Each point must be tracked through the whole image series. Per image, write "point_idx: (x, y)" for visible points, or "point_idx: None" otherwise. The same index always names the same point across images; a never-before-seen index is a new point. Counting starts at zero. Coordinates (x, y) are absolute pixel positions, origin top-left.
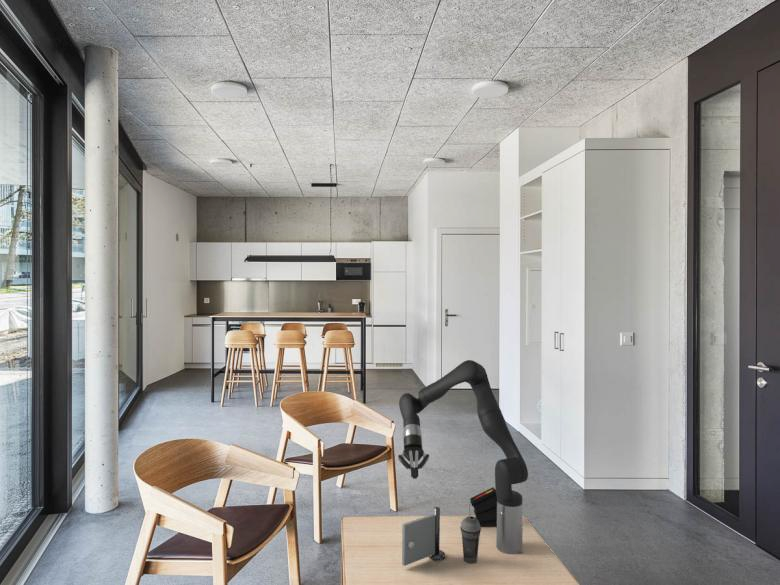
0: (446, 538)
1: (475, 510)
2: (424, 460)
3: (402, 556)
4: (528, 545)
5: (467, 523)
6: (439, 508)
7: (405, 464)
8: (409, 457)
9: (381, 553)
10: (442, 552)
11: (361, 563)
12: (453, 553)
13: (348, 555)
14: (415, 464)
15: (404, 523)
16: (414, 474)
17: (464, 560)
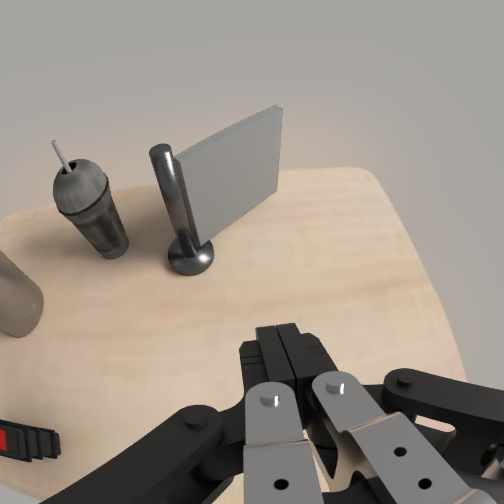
0: (152, 362)
1: (30, 431)
2: (118, 470)
3: (277, 176)
4: None
5: (88, 160)
6: (151, 149)
7: (433, 375)
8: (437, 482)
9: (340, 253)
10: (173, 258)
11: (369, 210)
12: (145, 275)
13: (408, 237)
14: (289, 411)
15: (277, 111)
16: (282, 331)
17: (127, 239)
